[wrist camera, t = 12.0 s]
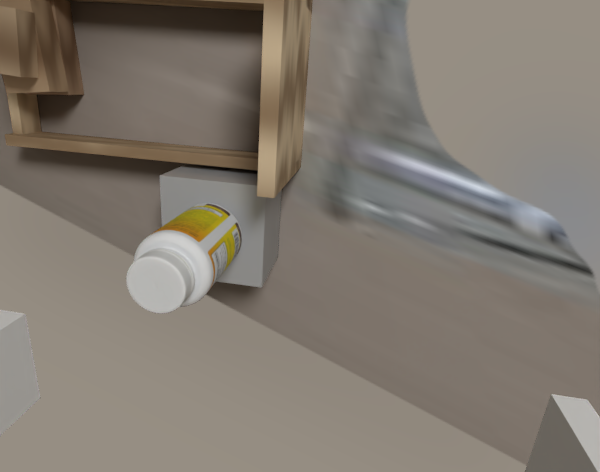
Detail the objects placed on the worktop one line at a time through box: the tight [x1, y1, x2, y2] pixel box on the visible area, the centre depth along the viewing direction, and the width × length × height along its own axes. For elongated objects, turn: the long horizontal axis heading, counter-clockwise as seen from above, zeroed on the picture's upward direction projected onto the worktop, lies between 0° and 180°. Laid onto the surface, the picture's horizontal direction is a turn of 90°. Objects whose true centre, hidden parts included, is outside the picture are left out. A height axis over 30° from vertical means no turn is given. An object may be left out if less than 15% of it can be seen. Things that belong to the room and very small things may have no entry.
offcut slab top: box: [0, 0, 69, 93], centre depth 36 cm, size 8×4×2 cm, turn 2°
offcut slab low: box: [25, 0, 84, 95], centre depth 39 cm, size 8×4×2 cm, turn 179°
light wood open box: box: [5, 0, 313, 198], centre depth 33 cm, size 14×28×12 cm, turn 86°
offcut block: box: [0, 6, 39, 78], centre depth 34 cm, size 5×3×2 cm, turn 172°
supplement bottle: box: [126, 203, 242, 313], centre depth 31 cm, size 6×6×10 cm
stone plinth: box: [160, 164, 282, 287], centre depth 39 cm, size 9×9×7 cm
